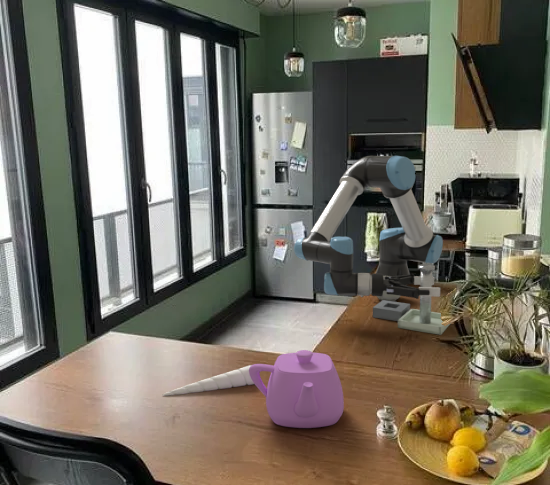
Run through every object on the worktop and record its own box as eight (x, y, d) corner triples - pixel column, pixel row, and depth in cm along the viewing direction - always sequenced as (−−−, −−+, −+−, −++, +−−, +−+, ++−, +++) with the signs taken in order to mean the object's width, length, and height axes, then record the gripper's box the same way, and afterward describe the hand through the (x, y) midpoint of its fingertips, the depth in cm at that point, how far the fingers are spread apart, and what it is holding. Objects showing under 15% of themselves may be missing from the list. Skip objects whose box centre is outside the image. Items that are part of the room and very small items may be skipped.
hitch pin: (419, 319, 184) (420, 263, 180) (435, 321, 181) (436, 265, 178) (414, 323, 179) (416, 266, 176) (430, 325, 176) (432, 268, 173)
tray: (410, 315, 190) (411, 308, 189) (451, 322, 182) (452, 314, 182) (397, 327, 178) (397, 320, 177) (440, 334, 171) (441, 327, 170)
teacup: (400, 295, 214) (401, 275, 212) (404, 303, 203) (404, 283, 202) (364, 295, 215) (365, 275, 214) (366, 303, 204) (366, 282, 203)
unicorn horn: (161, 390, 136) (160, 372, 136) (254, 379, 142) (253, 361, 141) (162, 398, 132) (161, 380, 131) (257, 387, 138) (257, 369, 137)
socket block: (382, 309, 197) (383, 300, 196) (409, 313, 192) (410, 304, 191) (372, 317, 189) (372, 307, 188) (400, 321, 183) (400, 311, 183)
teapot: (251, 398, 131) (250, 339, 128) (339, 397, 131) (339, 338, 128) (245, 451, 109) (244, 381, 106) (351, 451, 108) (352, 380, 106)
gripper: (369, 285, 193) (431, 287, 190) (371, 306, 169) (442, 309, 166) (370, 265, 192) (432, 266, 189) (372, 283, 167) (443, 285, 164)
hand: (437, 286), depth 177 cm, fingers open, 13 cm apart
